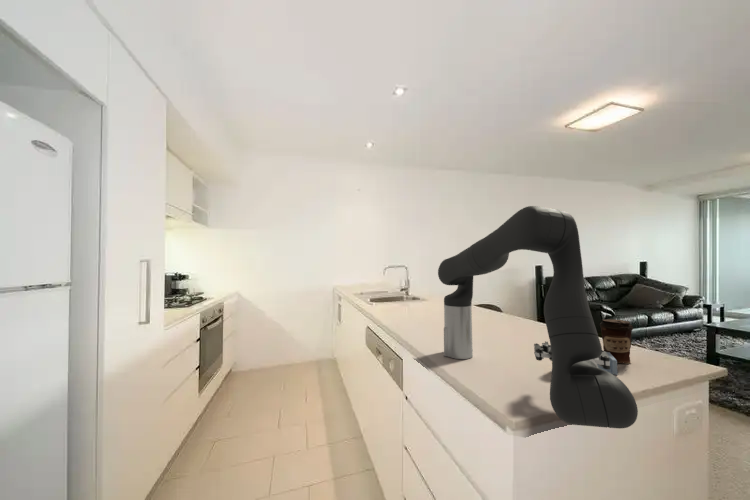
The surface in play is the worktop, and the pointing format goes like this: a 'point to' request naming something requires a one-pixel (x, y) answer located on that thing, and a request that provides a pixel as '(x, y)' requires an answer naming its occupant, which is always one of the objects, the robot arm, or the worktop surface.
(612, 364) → the grey-blue square open box
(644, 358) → the worktop surface
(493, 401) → the worktop surface
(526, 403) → the worktop surface
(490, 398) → the worktop surface
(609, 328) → the coffee cup
